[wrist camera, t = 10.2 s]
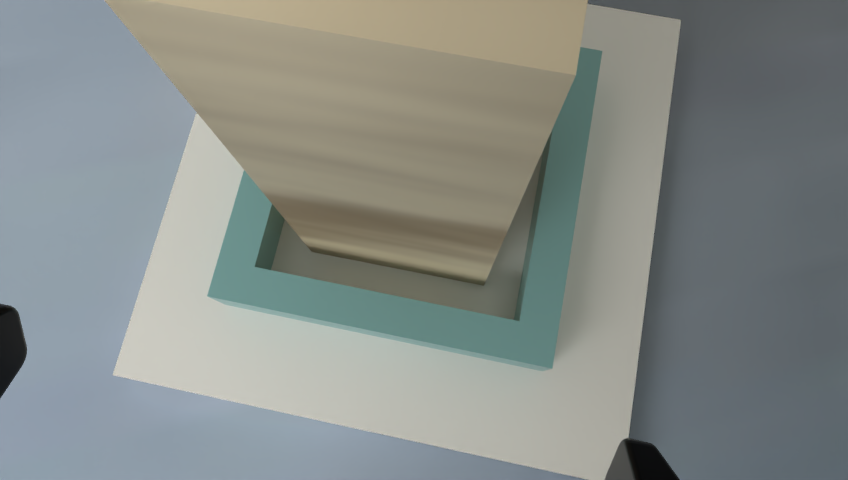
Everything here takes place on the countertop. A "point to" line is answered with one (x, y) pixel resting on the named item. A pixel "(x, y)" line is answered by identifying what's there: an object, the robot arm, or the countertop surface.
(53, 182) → the countertop surface
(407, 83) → the beige tall block
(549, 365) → the baseplate
